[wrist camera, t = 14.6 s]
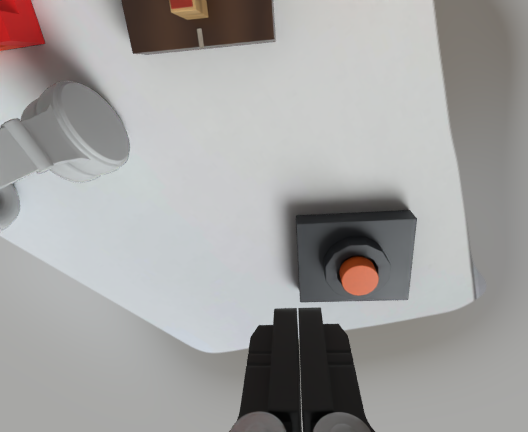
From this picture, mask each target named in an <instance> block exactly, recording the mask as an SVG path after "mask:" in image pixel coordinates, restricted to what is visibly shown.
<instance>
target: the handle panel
mask: <svg viewBox="0 0 528 432" xmlns="http://www.w3.org/2000/svg"><path fill="white" fill-rule="evenodd" d="M121 1H122V5H123V10H124V14H125V19H126V24H127V28H128V33H129V37H130V42H131V47H132V51H133V54H145V55H149V54H159V53H169V52H179V51H189V50H199V49H208V48H218V47H228V46H238V45H248V44H258V43H268V42H275V41H276V39H275V23H274V7H273V0H206V2H207V9H208V18H200V19H190V20H187V19H184V18H182V17H180V16H178V15H176V14H173V13H171V9H170V3H169V0H121Z"/></svg>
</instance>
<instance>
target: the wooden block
mask: <svg viewBox="0 0 528 432" xmlns="http://www.w3.org/2000/svg"><path fill="white" fill-rule="evenodd" d="M169 3H170V9H171V13H173V14H176V15H178V16H180V17H182V18H184V19H187V20H190V19H200V18H208V9H207V2H206V0H169Z"/></svg>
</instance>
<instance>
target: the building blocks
mask: <svg viewBox="0 0 528 432" xmlns="http://www.w3.org/2000/svg"><path fill="white" fill-rule="evenodd" d="M41 44H45V41H44V38H43V35H42V32H41V29H40V26H39V23H38V20H37V17H36V14H35V11H34V8H33V6H32V3H31V0H0V51H3V50H9V49H16V48H23V47H28V46H34V45H41Z"/></svg>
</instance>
